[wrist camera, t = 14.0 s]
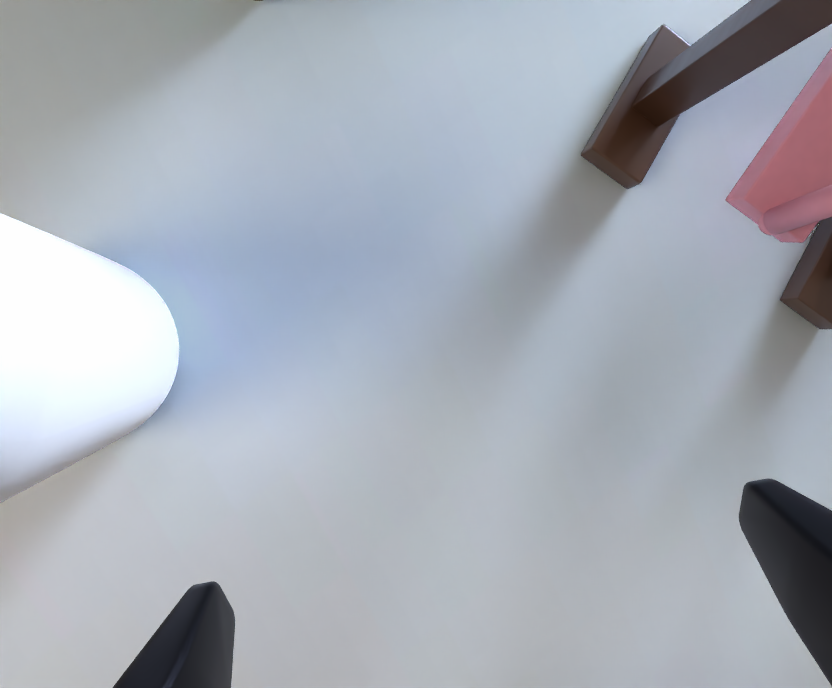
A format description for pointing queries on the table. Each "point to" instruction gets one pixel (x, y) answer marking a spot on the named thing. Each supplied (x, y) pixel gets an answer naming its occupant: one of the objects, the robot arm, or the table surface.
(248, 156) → the table surface
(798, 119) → the hanger
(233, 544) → the table surface
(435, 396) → the table surface
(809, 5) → the stand
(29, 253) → the can
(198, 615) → the robot arm
